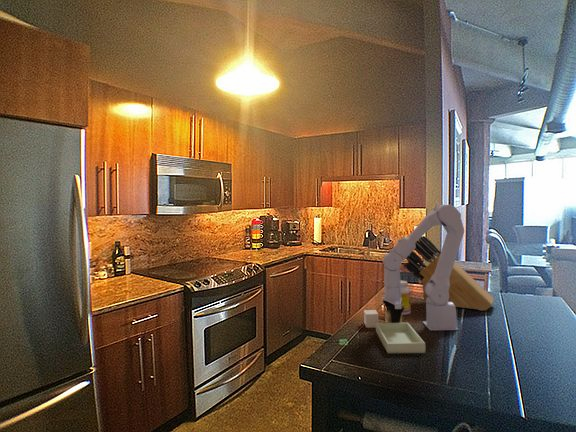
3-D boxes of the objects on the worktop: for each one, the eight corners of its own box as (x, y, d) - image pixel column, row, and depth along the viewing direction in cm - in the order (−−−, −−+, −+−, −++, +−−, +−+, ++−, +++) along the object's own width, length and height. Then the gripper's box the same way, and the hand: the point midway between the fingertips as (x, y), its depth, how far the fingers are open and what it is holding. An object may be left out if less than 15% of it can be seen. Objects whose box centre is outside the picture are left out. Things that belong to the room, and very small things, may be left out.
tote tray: (408, 330, 117) (407, 322, 117) (425, 352, 100) (425, 343, 100) (376, 331, 117) (375, 323, 117) (387, 353, 100) (387, 343, 100)
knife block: (409, 295, 160) (407, 231, 159) (494, 305, 140) (492, 232, 139) (401, 301, 151) (399, 233, 150) (492, 313, 131) (490, 235, 130)
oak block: (398, 323, 125) (398, 309, 125) (402, 328, 120) (402, 314, 120) (385, 323, 125) (384, 310, 125) (388, 328, 120) (388, 314, 120)
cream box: (376, 322, 126) (375, 309, 126) (378, 327, 122) (378, 313, 121) (364, 323, 126) (363, 310, 126) (366, 327, 122) (365, 314, 122)
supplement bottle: (412, 315, 132) (411, 283, 132) (394, 315, 133) (393, 283, 133) (409, 310, 139) (408, 279, 138) (392, 309, 140) (391, 279, 139)
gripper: (377, 281, 129) (378, 315, 130) (386, 291, 115) (387, 330, 115) (395, 280, 129) (396, 315, 129) (406, 290, 114) (408, 329, 115)
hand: (393, 322), depth 122 cm, fingers closed on oak block, 5 cm apart
